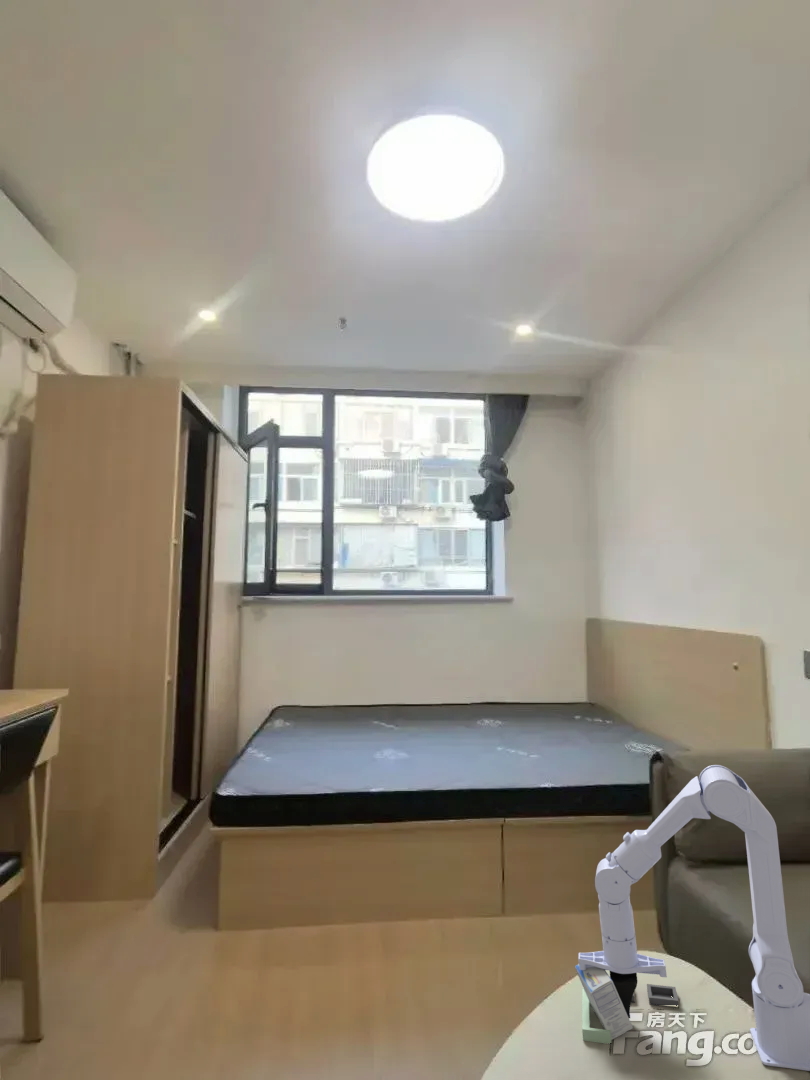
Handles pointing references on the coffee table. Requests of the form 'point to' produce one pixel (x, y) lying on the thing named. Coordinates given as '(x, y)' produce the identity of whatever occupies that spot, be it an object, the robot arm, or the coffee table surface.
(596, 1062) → the coffee table surface
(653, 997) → the grey flat rectangular tray
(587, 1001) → the mint green u-bracket
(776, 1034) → the robot arm
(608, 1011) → the medicine box
